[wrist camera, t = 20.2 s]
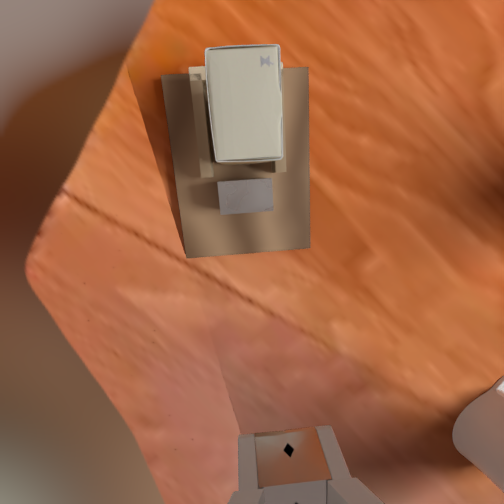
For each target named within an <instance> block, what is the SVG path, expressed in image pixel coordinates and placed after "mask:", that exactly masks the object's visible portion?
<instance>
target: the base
mask: <svg viewBox="0 0 504 504" xmlns="http://www.w3.org/2000/svg"><path fill="white" fill-rule="evenodd" d="M161 80H162V88H163V95H164V102H165V109H166V116H167V123H168V131H169V138H170V145H171V152H172V159H173V166H174V174H175V181H176V188H177V195H178V202H179V209H180V217H181V224H182V231H183V238H184V245H185V252H186V258H197V257H210V256H222V255H234V254H246V253H258V252H270V251H282V250H294V249H306V248H310V172H309V79H308V67H298V68H283V62H281V90H282V122H283V158H282V159H281V160H277V161H271V162H265V163H258V164H242V165H222V164H220V163H218V162H216V160H215V154H214V147H213V139H212V131H211V124H210V115H209V106H208V96H207V85H206V71H205V66H202V67H189V74H171V75H161ZM258 178H272V189H273V210H274V211H265V212H252V213H239V214H226V215H221V214H220V204H219V194H218V184H217V182H219V181H230V180H244V179H258Z"/></svg>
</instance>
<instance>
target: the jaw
mask: <svg viewBox="0 0 504 504" xmlns="http://www.w3.org/2000/svg"><path fill="white" fill-rule="evenodd" d="M217 184H218V194H219V204H220V214H221V215H226V214H239V213H252V212H265V211H274V210H273V189H272V178H258V179H244V180H230V181H219V182H217Z"/></svg>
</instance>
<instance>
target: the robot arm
mask: <svg viewBox="0 0 504 504" xmlns="http://www.w3.org/2000/svg"><path fill="white" fill-rule="evenodd" d="M452 438H453V443H454V446H455V448H456V449H457V450H458V452H459V453H460V454H462V455H463V456H464V457H465V458H467V459H468V460H469V461H470V462H471V463H473V464H474V465H475V466H476V467H477V468H478V469H479V470H481V471H482V472H483V473H484V474H485V475H486V476H487V477H488V478H489V479H490V480H491V481H492V482H493V483H494V484H495V485H496V486H497V487H498V488H499V489H500V490H501V491H502V492H503V493H504V376H503V377H502V378H500V379H499V380H498V381H497V382H496V383H495V385H494V386H493V387H492V388H491V389H490V390H489V391H487V392H486V393H484V394H482V395H481V396H479V397H478V398H476V399H475V400H474V401H472V402H471V403H470V404H469V405H468V406H467V407H466V408H465V409H464V410H463V411H462V412H461V414H460V415H459V417H458V418H457V420H456V422H455V425H454V428H453V433H452ZM255 447H256V448H255ZM238 476H239V491H235V492H233V494H232V496H231V498H230V500H229V502H228V504H385V503H384V502H382V501H381V500H380V499H379V498H378V497H377V496H376V495H375V494H374V493H373V492H372V491H371V490H370V489H369V488H367V487H366V486H365V485H364V484H363V483H362V482H361V481H360V480H359V479H358V478H357V477H355V478H352V477H351V475H350V472H349V470H348V467H347V465H346V462H345V459H344V457H343V454H342V452H341V449H340V447H339V444H338V442H337V439H336V436H335V434H334V431H333V429H332V427H331V426H330V425H326V426H317V427H306V428H298V429H290V430H284V431H275V432H262V433H255V437H254V433H252V434H241V435H239V437H238Z"/></svg>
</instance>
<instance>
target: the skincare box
mask: <svg viewBox="0 0 504 504" xmlns="http://www.w3.org/2000/svg"><path fill="white" fill-rule="evenodd" d="M205 71H206V85H207V96H208V106H209V115H210V124H211V131H212V139H213V147H214V154H215V160H216V162H218V163H220V164H222V165H242V164H258V163H265V162H271V161H277V160H281V159H282V158H283V122H282V90H281V62H280V45H278V44H270V45H268V44H261V45H234V46H220V47H211V48H206V49H205Z"/></svg>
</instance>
